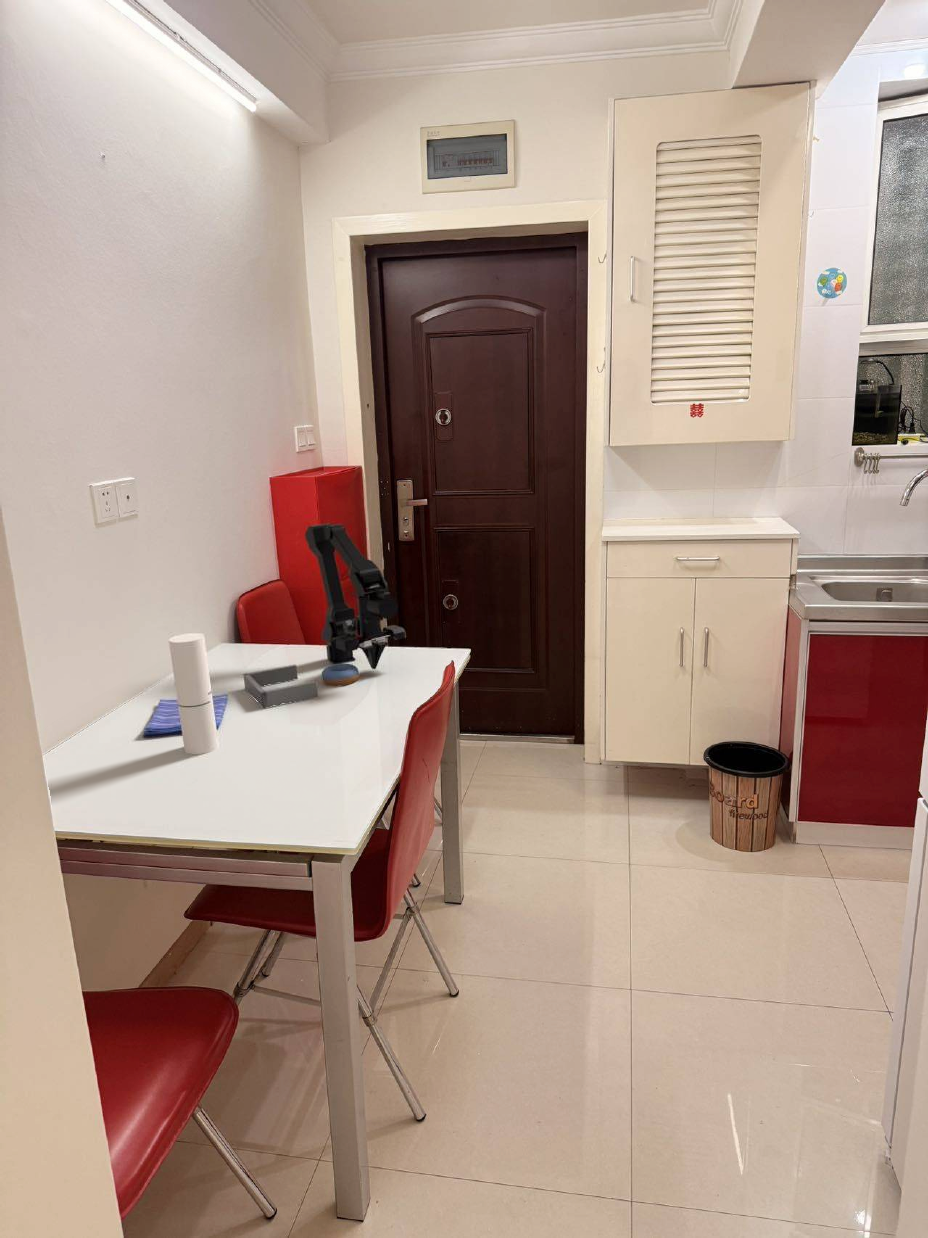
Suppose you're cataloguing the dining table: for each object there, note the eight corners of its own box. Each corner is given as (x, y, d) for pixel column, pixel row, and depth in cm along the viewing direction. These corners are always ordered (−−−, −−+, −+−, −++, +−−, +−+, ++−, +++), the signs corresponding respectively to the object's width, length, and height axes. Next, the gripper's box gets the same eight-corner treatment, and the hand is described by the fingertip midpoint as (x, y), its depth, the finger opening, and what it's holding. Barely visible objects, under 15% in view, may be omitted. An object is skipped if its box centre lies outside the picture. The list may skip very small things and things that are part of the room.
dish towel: (141, 741, 191) (140, 730, 191) (159, 706, 214) (157, 696, 213) (219, 733, 194) (218, 721, 193) (229, 699, 217) (227, 688, 216)
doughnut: (318, 677, 228) (317, 661, 227) (354, 673, 232) (354, 658, 230) (325, 691, 219) (325, 675, 218) (363, 687, 223) (363, 671, 221)
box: (296, 678, 229) (295, 664, 228) (318, 697, 213) (316, 682, 212) (245, 688, 223) (243, 674, 222) (263, 708, 207) (261, 693, 206)
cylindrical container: (223, 741, 187) (209, 632, 181) (211, 754, 181) (195, 642, 174) (192, 741, 188) (177, 633, 182) (179, 754, 181) (162, 642, 175)
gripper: (383, 601, 237) (387, 655, 241) (323, 614, 226) (328, 669, 230) (404, 608, 228) (408, 663, 232) (344, 621, 217) (349, 679, 221)
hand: (373, 668), depth 229 cm, fingers closed
